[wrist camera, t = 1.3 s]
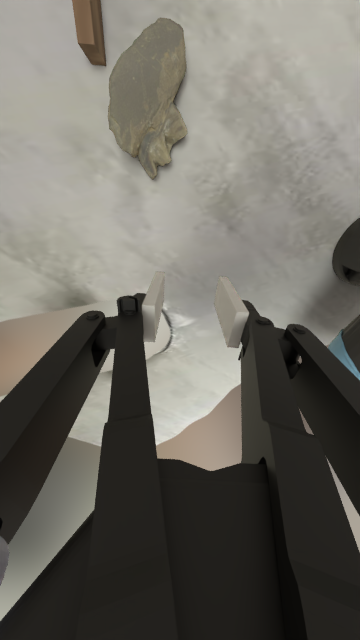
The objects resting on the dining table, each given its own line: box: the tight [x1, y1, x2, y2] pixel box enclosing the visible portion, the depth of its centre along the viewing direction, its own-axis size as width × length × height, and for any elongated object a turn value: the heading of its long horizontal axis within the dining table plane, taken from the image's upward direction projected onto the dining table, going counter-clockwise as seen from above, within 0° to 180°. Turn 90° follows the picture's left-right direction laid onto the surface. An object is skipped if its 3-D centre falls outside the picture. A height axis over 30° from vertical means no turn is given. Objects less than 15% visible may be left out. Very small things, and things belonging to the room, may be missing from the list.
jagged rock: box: [108, 18, 187, 179], centre depth 25 cm, size 14×10×10 cm
